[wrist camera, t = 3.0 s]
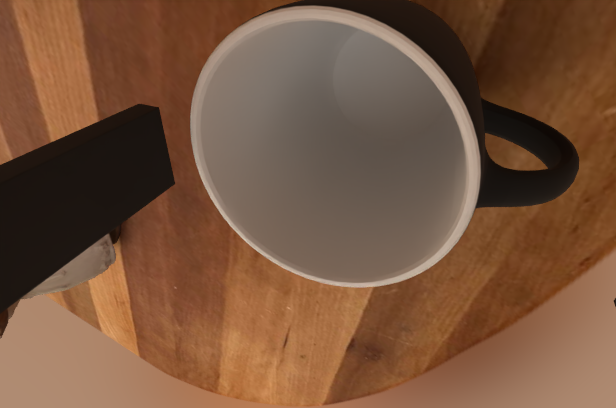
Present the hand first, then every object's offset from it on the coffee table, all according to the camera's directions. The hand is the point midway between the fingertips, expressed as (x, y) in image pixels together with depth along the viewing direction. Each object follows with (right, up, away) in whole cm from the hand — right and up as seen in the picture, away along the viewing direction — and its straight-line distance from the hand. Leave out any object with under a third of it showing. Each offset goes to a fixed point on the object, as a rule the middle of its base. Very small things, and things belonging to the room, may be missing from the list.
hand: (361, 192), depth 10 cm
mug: (+4, +5, +8) cm, 11 cm away
